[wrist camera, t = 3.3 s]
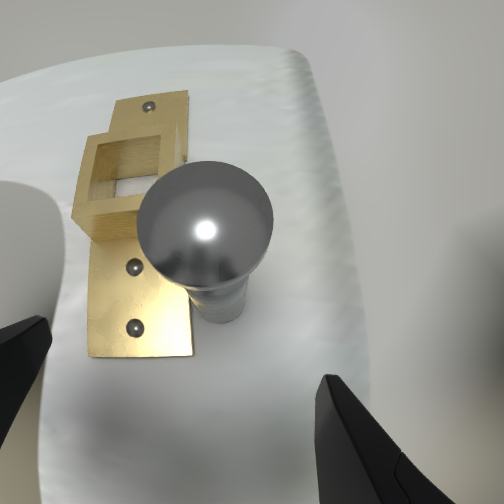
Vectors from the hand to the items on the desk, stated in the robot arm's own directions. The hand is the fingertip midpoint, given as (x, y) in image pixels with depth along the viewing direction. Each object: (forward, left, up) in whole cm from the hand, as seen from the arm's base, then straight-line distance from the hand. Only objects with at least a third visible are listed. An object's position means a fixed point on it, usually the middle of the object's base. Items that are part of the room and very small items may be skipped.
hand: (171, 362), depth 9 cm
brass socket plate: (+7, +10, -11) cm, 17 cm away
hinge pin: (+4, +1, -11) cm, 11 cm away
